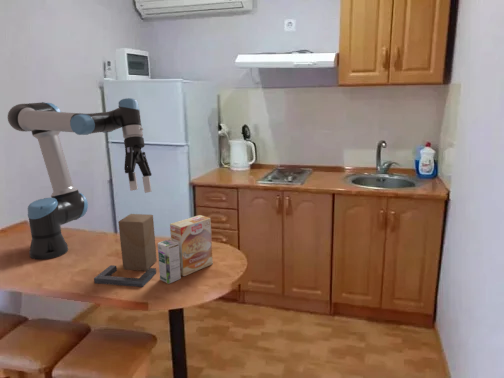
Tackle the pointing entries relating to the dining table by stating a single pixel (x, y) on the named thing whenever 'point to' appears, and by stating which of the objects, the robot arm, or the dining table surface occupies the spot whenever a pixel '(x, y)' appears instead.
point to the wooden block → (137, 242)
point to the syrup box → (169, 261)
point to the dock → (123, 278)
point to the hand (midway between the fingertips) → (141, 191)
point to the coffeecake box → (193, 243)
